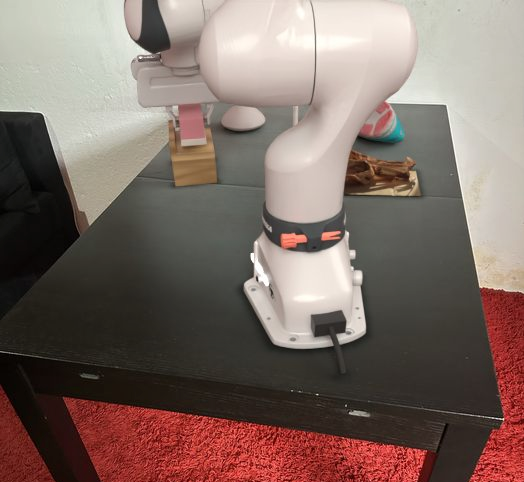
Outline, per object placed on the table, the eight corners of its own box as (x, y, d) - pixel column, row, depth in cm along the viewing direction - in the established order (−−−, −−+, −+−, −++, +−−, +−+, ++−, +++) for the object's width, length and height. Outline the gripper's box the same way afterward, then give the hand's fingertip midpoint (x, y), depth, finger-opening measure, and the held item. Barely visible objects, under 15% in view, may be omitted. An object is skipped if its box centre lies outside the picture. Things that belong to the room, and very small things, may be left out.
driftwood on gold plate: (288, 138, 114) (420, 139, 112) (288, 168, 119) (415, 169, 116) (284, 162, 104) (429, 164, 101) (284, 194, 108) (423, 196, 106)
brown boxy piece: (217, 182, 113) (213, 139, 107) (175, 186, 113) (169, 142, 106) (212, 158, 123) (209, 116, 116) (174, 161, 122) (168, 120, 116)
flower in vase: (265, 134, 132) (262, 20, 115) (220, 136, 133) (211, 21, 116) (265, 116, 142) (263, 8, 125) (223, 117, 142) (215, 9, 125)
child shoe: (206, 144, 108) (204, 118, 104) (181, 146, 108) (177, 120, 104) (203, 123, 117) (200, 98, 113) (179, 125, 116) (176, 100, 113)
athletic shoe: (403, 155, 123) (427, 105, 121) (378, 136, 118) (403, 83, 116) (336, 144, 144) (356, 101, 142) (312, 128, 139) (332, 83, 136)
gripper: (128, 60, 98) (141, 135, 107) (237, 52, 99) (241, 127, 109) (129, 51, 102) (142, 124, 112) (233, 44, 104) (237, 116, 113)
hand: (191, 125), depth 110 cm, fingers closed on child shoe, 5 cm apart
